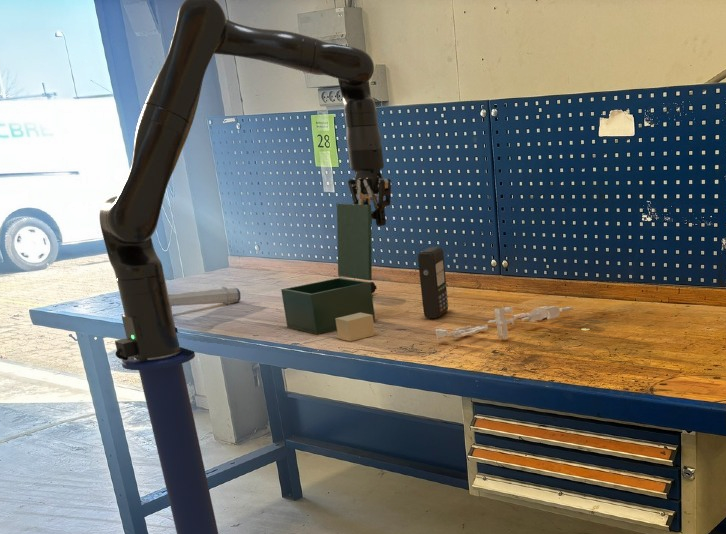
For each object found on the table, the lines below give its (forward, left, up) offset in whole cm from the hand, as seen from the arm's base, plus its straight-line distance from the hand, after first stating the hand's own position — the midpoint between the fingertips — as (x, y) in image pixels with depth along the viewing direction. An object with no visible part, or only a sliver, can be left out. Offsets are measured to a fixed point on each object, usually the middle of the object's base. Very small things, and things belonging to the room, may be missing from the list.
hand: (374, 224), depth 197 cm
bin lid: (-6, 0, -3) cm, 7 cm away
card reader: (+4, -15, -21) cm, 26 cm away
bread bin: (-15, 0, -20) cm, 25 cm away
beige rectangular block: (-19, -16, -20) cm, 32 cm away
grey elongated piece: (+1, -40, -21) cm, 45 cm away
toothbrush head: (-26, +47, -21) cm, 58 cm away
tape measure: (+8, +20, -21) cm, 30 cm away
